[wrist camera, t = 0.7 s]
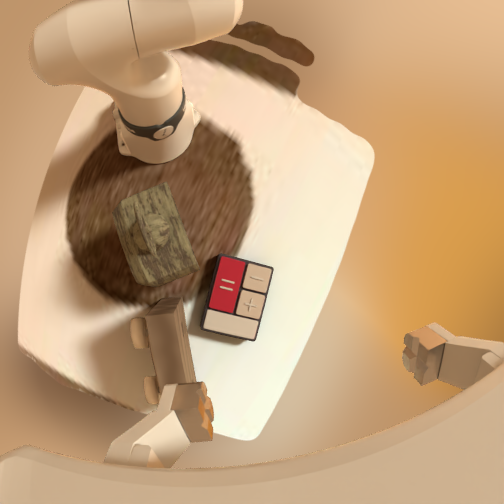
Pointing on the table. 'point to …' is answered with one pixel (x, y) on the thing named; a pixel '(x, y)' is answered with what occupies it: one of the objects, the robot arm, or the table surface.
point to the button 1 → (139, 333)
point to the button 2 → (152, 390)
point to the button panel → (170, 343)
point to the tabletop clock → (154, 237)
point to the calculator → (236, 297)
